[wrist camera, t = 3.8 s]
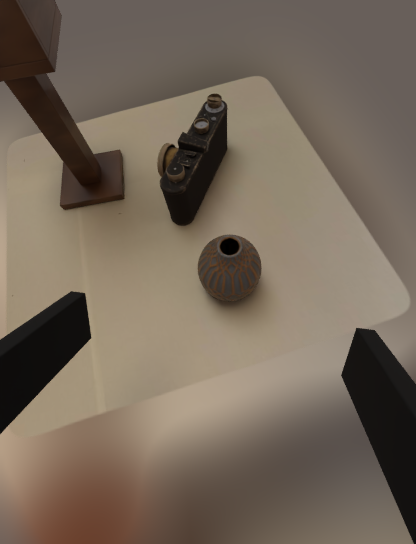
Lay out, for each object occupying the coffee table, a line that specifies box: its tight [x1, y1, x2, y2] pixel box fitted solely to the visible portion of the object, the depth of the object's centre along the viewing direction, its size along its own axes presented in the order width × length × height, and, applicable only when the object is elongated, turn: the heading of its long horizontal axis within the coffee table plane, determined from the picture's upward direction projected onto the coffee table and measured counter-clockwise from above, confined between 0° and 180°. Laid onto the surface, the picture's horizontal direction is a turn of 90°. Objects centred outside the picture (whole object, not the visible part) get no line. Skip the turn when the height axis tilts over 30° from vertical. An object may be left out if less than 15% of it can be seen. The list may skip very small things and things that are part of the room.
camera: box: [157, 94, 227, 225], centre depth 35 cm, size 16×7×8 cm, turn 159°
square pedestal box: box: [0, 0, 124, 209], centre depth 30 cm, size 10×10×22 cm
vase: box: [198, 235, 261, 301], centre depth 28 cm, size 7×7×9 cm
